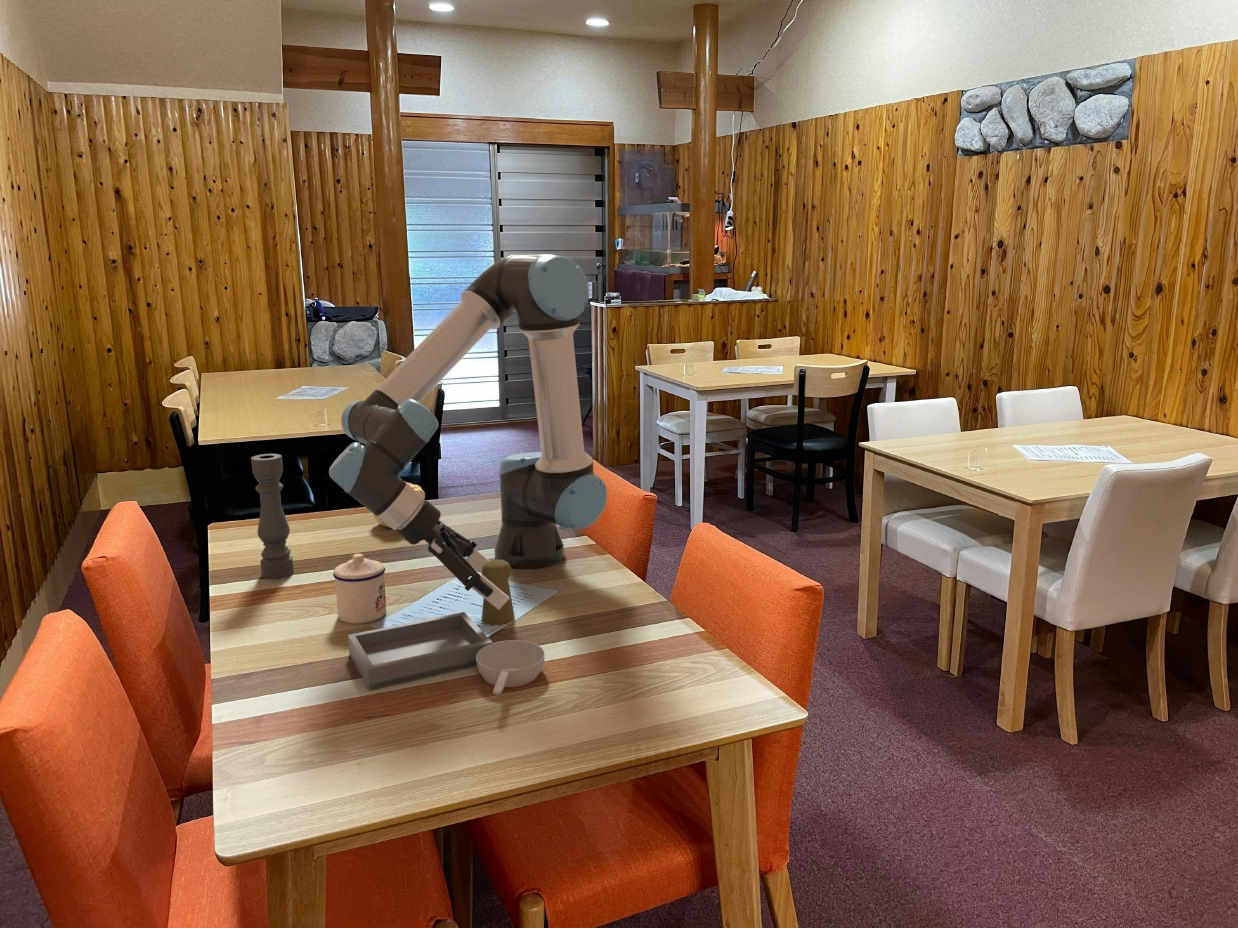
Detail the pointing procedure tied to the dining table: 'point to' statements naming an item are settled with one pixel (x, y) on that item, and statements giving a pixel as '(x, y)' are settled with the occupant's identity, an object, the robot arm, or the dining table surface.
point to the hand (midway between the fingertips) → (500, 589)
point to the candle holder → (272, 517)
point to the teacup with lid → (360, 590)
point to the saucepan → (510, 663)
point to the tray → (416, 649)
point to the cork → (499, 577)
